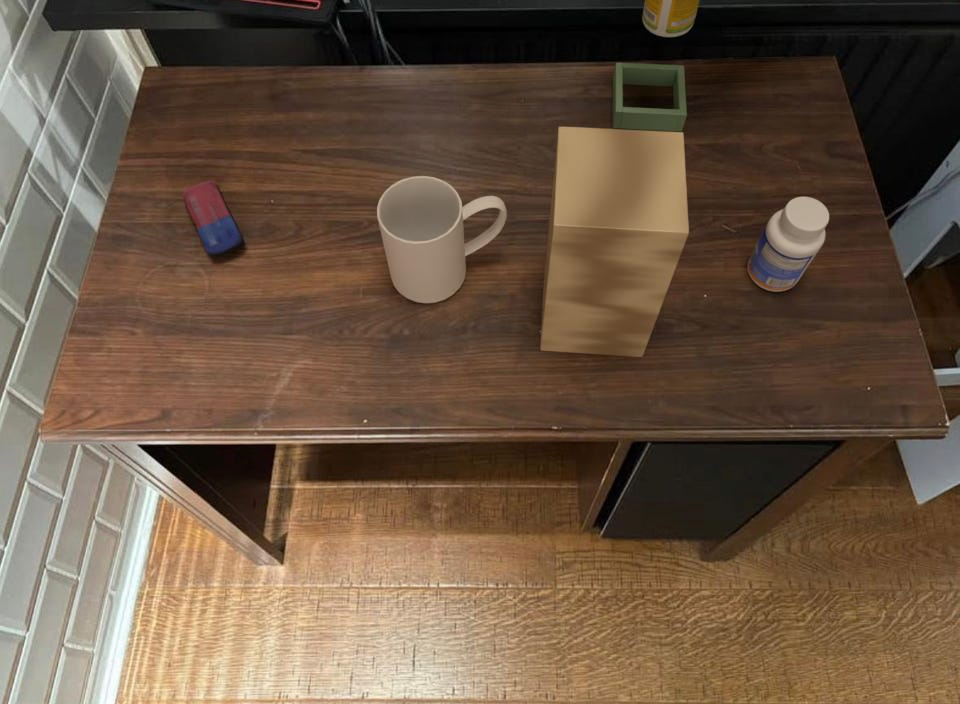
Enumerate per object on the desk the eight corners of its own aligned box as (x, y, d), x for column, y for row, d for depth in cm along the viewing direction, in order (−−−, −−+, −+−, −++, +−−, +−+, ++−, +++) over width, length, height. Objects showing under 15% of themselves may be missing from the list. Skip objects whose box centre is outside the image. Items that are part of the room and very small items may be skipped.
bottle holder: (679, 82, 90) (684, 65, 87) (681, 131, 86) (687, 114, 84) (612, 79, 90) (615, 62, 88) (612, 128, 87) (615, 111, 84)
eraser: (181, 196, 83) (175, 185, 82) (216, 182, 84) (210, 171, 82) (213, 267, 78) (207, 257, 77) (250, 251, 79) (244, 241, 77)
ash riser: (640, 272, 77) (683, 132, 59) (642, 357, 72) (689, 232, 55) (544, 266, 78) (558, 125, 60) (539, 350, 73) (553, 225, 55)
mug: (397, 311, 75) (383, 250, 66) (385, 249, 79) (370, 183, 70) (513, 288, 76) (516, 225, 67) (496, 228, 80) (496, 160, 71)
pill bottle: (766, 241, 79) (799, 179, 70) (809, 271, 77) (849, 211, 68) (735, 271, 77) (765, 212, 68) (778, 303, 75) (815, 246, 66)
